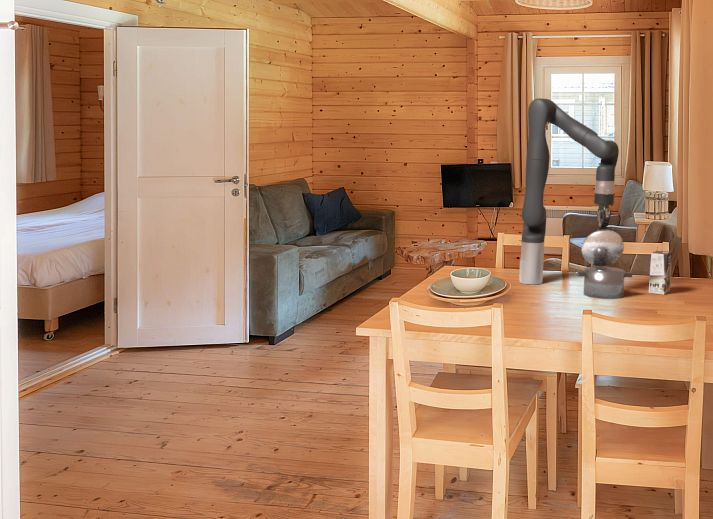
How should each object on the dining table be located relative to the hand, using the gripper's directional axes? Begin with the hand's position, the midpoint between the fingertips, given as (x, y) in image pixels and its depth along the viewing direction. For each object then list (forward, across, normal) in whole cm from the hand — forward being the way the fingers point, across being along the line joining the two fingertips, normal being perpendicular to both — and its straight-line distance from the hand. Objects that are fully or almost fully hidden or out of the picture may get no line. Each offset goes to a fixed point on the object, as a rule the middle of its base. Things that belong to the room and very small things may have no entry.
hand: (602, 236), depth 358 cm
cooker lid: (+5, +3, 0) cm, 5 cm away
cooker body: (+22, +7, 0) cm, 23 cm away
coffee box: (+22, -1, +24) cm, 33 cm away
